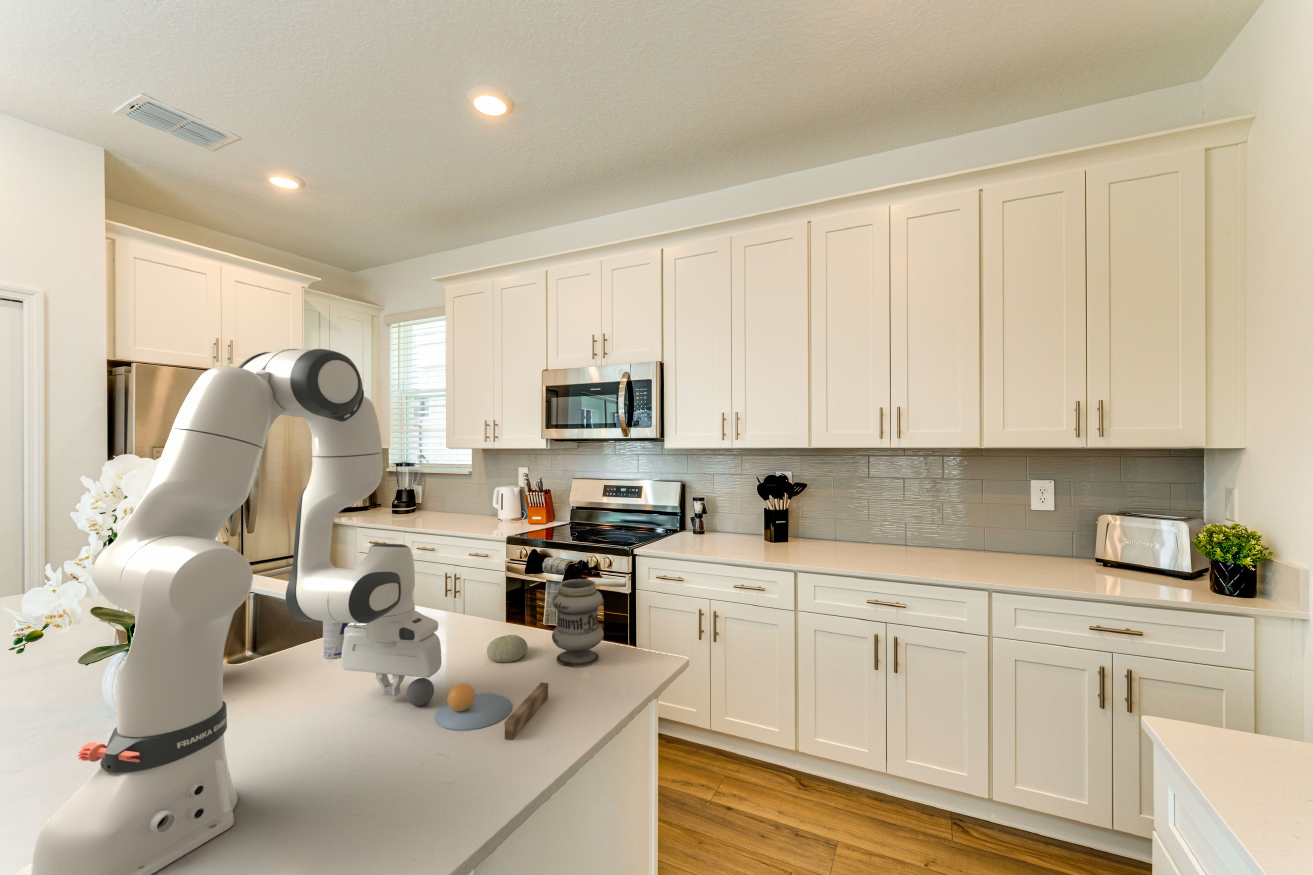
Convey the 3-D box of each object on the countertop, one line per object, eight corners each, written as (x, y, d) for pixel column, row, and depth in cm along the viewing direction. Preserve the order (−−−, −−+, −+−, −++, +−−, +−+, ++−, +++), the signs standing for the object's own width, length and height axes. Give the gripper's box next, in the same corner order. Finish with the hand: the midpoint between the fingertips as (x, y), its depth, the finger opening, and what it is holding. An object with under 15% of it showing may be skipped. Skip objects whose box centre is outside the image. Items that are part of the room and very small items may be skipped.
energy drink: (353, 651, 138) (353, 602, 138) (338, 659, 133) (338, 608, 133) (332, 650, 138) (332, 601, 138) (317, 658, 133) (317, 608, 133)
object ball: (440, 712, 106) (464, 719, 105) (443, 687, 106) (467, 693, 105) (455, 700, 111) (478, 706, 110) (458, 675, 111) (481, 681, 110)
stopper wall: (512, 739, 97) (512, 722, 97) (504, 738, 98) (504, 721, 98) (548, 697, 113) (548, 682, 113) (541, 696, 113) (541, 682, 113)
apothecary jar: (543, 666, 129) (543, 587, 128) (564, 647, 140) (564, 575, 140) (593, 671, 126) (593, 591, 126) (610, 651, 137) (610, 578, 137)
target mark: (490, 733, 99) (490, 732, 99) (419, 725, 102) (419, 724, 102) (524, 697, 113) (524, 696, 113) (460, 691, 116) (460, 690, 116)
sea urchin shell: (480, 646, 136) (504, 619, 139) (503, 665, 139) (527, 639, 141) (486, 659, 128) (511, 631, 130) (510, 679, 130) (535, 651, 133)
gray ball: (403, 682, 108) (399, 706, 108) (427, 688, 108) (423, 713, 108) (417, 670, 113) (413, 694, 113) (440, 676, 112) (436, 700, 113)
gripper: (332, 626, 110) (333, 696, 110) (426, 633, 106) (427, 706, 106) (356, 616, 116) (356, 682, 116) (445, 622, 112) (445, 691, 112)
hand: (390, 694), depth 111 cm, fingers closed
